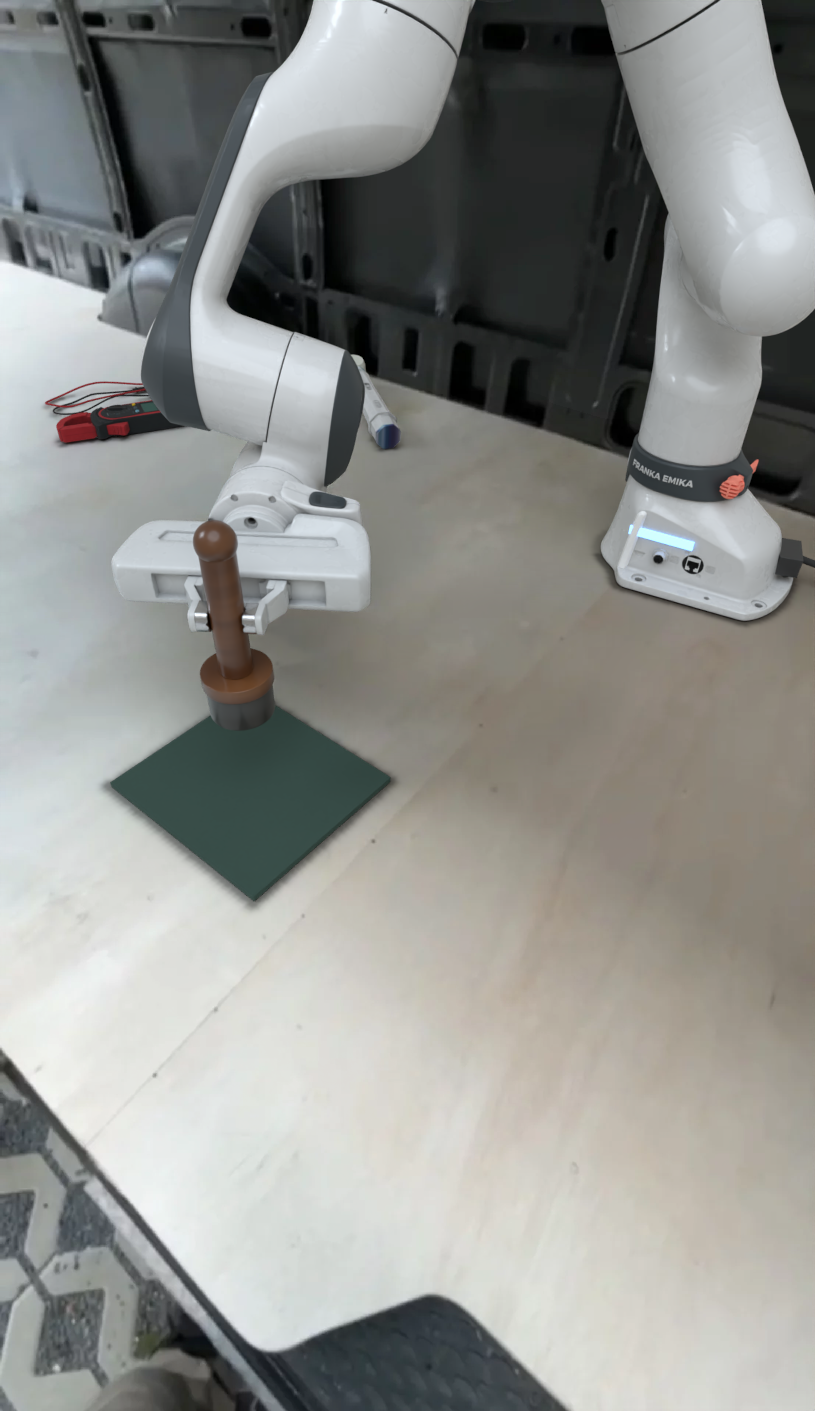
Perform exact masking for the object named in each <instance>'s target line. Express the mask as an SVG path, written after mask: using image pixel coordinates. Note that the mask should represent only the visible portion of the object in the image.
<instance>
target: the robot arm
mask: <svg viewBox="0 0 815 1411" xmlns="http://www.w3.org/2000/svg"><path fill="white" fill-rule="evenodd" d="M479 1H482V2H487V3H508V2H512V1H513V0H479ZM600 1H601V4H602V6H603V10H604V14H605V18H606V22H607V27H608V32H609V35H610V39H611V41H612V42H611V43H612V46H613V49H614V52H615V57H616V60H617V63H618V67H619V71H620V74H621V77H622V81H623V84H624V88H625V91H626V94H627V98H628V101H629V105H630V108H631V111H632V114H633V118H634V123H635V125H636V128H637V131H638V135H639V138H640V142H641V145H642V149H643V152H644V156H645V157H646V160H647V162H648V164H649V167H650V169H651V171H652V173H653V176H654V178H655V182H656V183H657V186H658V188H659V191H660V194H661V196H662V199H663V201H664V204H665V208H666V209H667V212H668V214H667V216H666V219H665V224H664V232H663V233H664V234H663V243H664V244H663V246H664V247H663V261H662V270H661V277H660V284H659V285H660V286H659V296H658V305H657V315H656V316H657V317H656V327H655V328H656V331H655V344H654V356H653V364H652V371H651V375H650V380H649V384H648V388H647V389H648V390H647V395H646V399H645V402H644V408H643V412H642V418H641V422H640V427H639V430H638V431H639V432H638V433H636V435H635V436H634V438H633V442H632V446H631V448H630V450H629V454H628V460H627V463H626V473H625V477H624V478H625V482H626V483H625V487H624V490H623V493H622V496H621V499H620V502H619V503H618V507H617V509H616V512H615V514H614V517H613V519H612V520H611V521H612V522H611V523H610V525H609V527H608V529H607V531H606V533H605V535H604V537H603V538H602V541H601V543H600V552H601V555H602V557H603V559H604V560H605V561H606V563H607V564H608V565H609V567H611V568H612V570H613V572H614V579H615V581H616V583H617V584H618V585H619V586H620V587H623V588H625V589H629V590H632V591H636V592H640V593H643V594H647V595H650V596H653V597H657V598H660V599H663V600H668V601H670V602H675V603H678V604H681V605H685V606H688V607H691V608H694V609H695V608H696V609H700V610H703V611H705V612H706V611H707V612H709V613H713V614H717V615H719V616H724V617H727V618H731V619H733V620H737V621H742V622H746V621H747V622H749V621H752V620H757V619H759V618H762V617H765V616H767V615H769V614H770V613H772V612H773V611H775V610H776V609H777V608H778V607H779V606H780V605H781V604H782V603H783V602H784V601H785V600H786V598H787V597H788V595H789V594H790V592H791V589H792V585H793V582H794V579H797V578H798V575H799V573H800V571H801V569H802V566H803V565H806V566H807V567H811V568H814V569H815V559H813V558H810V557H807V556H805V555H804V553H803V544H802V540H799V539H792V538H785V537H783V534H782V530H781V528H780V526H779V524H778V523H777V522H776V520H774V519H773V517H772V516H771V515H770V514H769V512H767V510H766V509H765V508H764V506H763V505H762V504H761V503H760V502H759V500H758V499H757V498H756V497H755V496H754V494H753V493H752V491H750V489H749V486H750V485H751V484H750V483H751V480H752V477H753V474H754V473H755V472H756V470H757V467H758V465H759V461H760V460H759V459H757V458H756V459H755V460H754V461H753V462H752V463H751V464H750V462H749V461H748V459H747V458H746V456H745V454H744V452H743V449H742V447H743V443H744V440H745V438H746V434H747V430H748V429H749V428H748V427H749V424H750V421H751V418H752V416H753V412H754V409H755V405H756V402H757V398H758V396H759V392H760V389H761V387H762V380H763V368H762V342H763V341H762V340H763V337H770V336H775V335H778V334H781V333H784V332H786V331H788V330H790V329H792V328H794V327H795V326H797V325H799V324H800V323H801V322H802V321H804V320H805V319H806V318H807V317H808V316H810V314H811V313H813V311H814V310H815V191H814V188H813V185H812V184H813V183H812V181H811V177H810V174H809V170H808V168H807V164H806V161H805V158H804V156H803V152H802V150H801V146H800V143H799V140H798V137H797V135H796V131H795V128H794V126H793V123H792V121H791V118H790V116H789V115H790V114H789V113H788V110H787V107H786V104H785V102H784V98H783V95H782V92H781V88H780V85H779V81H778V77H777V73H776V69H775V64H774V59H773V54H772V48H771V44H770V39H769V33H768V28H767V22H766V19H765V13H764V9H763V5H762V4H763V3H762V0H600ZM475 3H476V0H313V1H312V6H311V11H310V15H309V17H308V20H307V23H306V26H305V27H304V30H303V32H302V35H301V37H300V39H299V40H298V42H297V44H296V45H295V47H294V48H293V50H292V51H291V52H290V54H289V56H288V57H287V58H286V59H285V61H284V62H283V63H282V64H281V65H280V66H279V67H278V68H277V69H276V70H275V71H270V72H267V73H263V74H259V75H256V76H254V78H253V79H252V80H251V82H250V83H249V84H248V86H247V87H246V89H245V91H244V93H243V94H242V96H241V98H240V100H239V101H238V104H237V106H236V109H235V110H234V113H233V115H232V117H231V120H230V122H229V125H228V127H227V130H226V131H225V132H226V133H225V135H224V138H223V140H222V143H221V146H220V148H219V150H218V153H217V156H216V158H215V160H214V163H213V166H212V168H211V171H210V174H209V176H208V178H207V183H206V185H205V189H204V191H203V193H202V196H201V198H200V202H199V205H198V207H197V209H196V213H195V216H194V219H193V221H192V225H191V227H190V230H189V232H188V235H187V238H186V241H185V244H184V247H183V249H182V252H181V255H180V258H179V260H178V263H177V266H176V269H175V272H174V275H173V277H172V280H171V282H170V284H169V286H168V289H167V291H166V293H165V296H164V298H163V300H162V302H161V305H160V307H159V309H158V311H157V314H156V316H155V317H154V320H153V322H152V324H151V326H150V328H149V331H148V333H147V335H146V338H145V341H144V344H143V347H142V353H141V359H140V360H141V364H140V381H141V383H142V384H143V385H142V387H144V388H145V390H146V391H145V392H146V393H147V395H149V396H148V397H149V398H150V400H152V401H153V402H154V404H155V405H156V407H157V408H158V409H159V410H160V412H161V413H162V414H163V415H164V416H165V418H166V419H167V420H168V421H169V422H170V423H174V424H178V425H183V426H182V427H188V428H192V429H196V430H201V431H206V432H212V431H213V432H216V433H219V434H223V435H226V436H229V437H231V438H235V439H238V440H241V441H244V442H246V443H245V444H244V446H243V447H242V449H241V451H240V452H239V454H238V456H237V458H236V460H235V462H234V464H232V468H231V471H230V475H229V477H228V478H227V480H226V481H225V483H224V484H223V486H222V488H221V490H220V492H219V494H218V496H217V497H216V501H215V502H214V504H213V506H212V508H211V510H210V512H209V515H208V517H207V521H210V520H219V521H222V522H225V523H226V524H228V525H229V526H230V527H231V528H232V529H233V530H234V532H235V533H236V536H237V539H238V548H237V551H236V552H237V559H238V566H239V573H240V580H241V586H242V593H243V600H244V607H245V611H243V613H242V624H243V625H244V628H243V632H244V634H249V635H257V636H265V634H266V632H267V628H268V625H269V624H271V623H273V622H274V621H275V620H277V619H278V618H280V617H281V616H283V615H285V614H286V613H287V612H288V610H301V611H302V610H303V611H305V610H306V611H326V612H328V611H329V612H347V613H359V612H361V611H363V610H365V609H366V608H368V607H370V605H371V604H372V603H371V602H372V557H371V555H372V553H371V544H370V538H369V534H368V532H367V529H366V528H365V527H364V519H363V512H362V508H361V503H360V502H359V501H358V500H357V499H354V498H351V497H346V496H341V495H337V494H332V493H328V492H327V491H328V486H330V485H331V484H333V483H335V482H336V481H337V480H338V479H340V477H342V475H343V474H345V473H346V471H347V469H348V467H349V464H350V462H351V460H352V457H353V452H354V450H355V445H356V442H357V436H358V431H359V429H360V424H361V420H362V416H363V406H364V398H365V385H364V382H363V380H362V377H361V374H360V372H359V369H358V367H357V365H356V363H355V361H354V359H353V357H352V356H351V355H352V354H351V353H350V351H348V350H347V349H344V348H342V347H339V346H336V345H334V344H332V343H328V342H325V341H323V340H320V339H318V338H314V337H312V336H309V335H306V334H302V333H300V332H297V331H291V330H288V329H285V328H282V327H280V326H276V325H273V324H270V323H267V322H264V321H262V320H258V319H256V318H252V317H251V316H250V317H249V316H247V315H245V314H241V313H239V312H237V311H235V310H234V309H233V308H231V307H230V305H229V303H228V301H227V300H228V296H229V293H230V290H231V288H232V286H233V283H234V280H235V277H236V275H237V272H238V270H239V266H240V265H241V262H242V259H243V257H244V254H245V251H246V249H247V247H248V244H249V241H250V238H251V236H252V233H253V231H254V228H255V226H256V223H257V220H258V218H259V215H260V214H261V211H262V209H263V208H264V206H265V204H266V203H267V202H268V201H269V200H270V199H271V198H272V197H273V196H274V195H275V194H276V193H277V192H279V191H281V190H283V189H284V188H287V187H290V186H291V185H296V184H299V183H303V182H308V181H319V180H335V179H351V178H362V177H369V176H373V175H378V174H381V173H384V172H388V171H390V170H393V169H395V168H397V167H400V166H402V165H403V164H405V163H407V162H408V161H410V160H411V159H412V158H413V157H415V156H417V155H418V153H420V151H422V149H423V148H424V147H425V146H426V145H427V144H428V142H429V141H430V140H431V139H432V137H433V134H434V131H435V129H436V127H437V125H438V122H439V119H440V116H441V114H442V112H443V109H444V106H445V103H446V101H447V99H448V96H449V92H450V89H451V86H452V83H453V79H454V75H455V72H456V70H457V65H458V60H459V56H460V53H461V49H462V45H463V42H464V37H465V34H466V29H467V24H468V20H469V16H470V14H471V12H472V10H473V7H474V5H475ZM204 522H206V521H203V520H202V521H201V520H182V519H181V520H180V519H177V520H176V519H156V520H151V521H148V522H146V523H144V524H142V525H141V526H139V527H138V528H137V529H135V530H134V531H133V532H132V533H131V534H130V535H129V536H128V538H126V540H125V541H124V542H123V543H122V544H121V545H120V547H119V548H117V550H116V552H115V553H114V554H113V556H112V558H111V560H110V561H111V562H110V565H111V572H112V577H113V580H114V583H115V586H116V589H117V591H118V593H119V594H120V595H121V597H122V598H123V599H124V600H125V601H128V602H134V603H135V602H137V603H157V604H158V603H159V604H176V605H177V604H179V605H187V608H188V610H187V616H186V618H187V624H188V628H189V631H190V632H192V633H193V632H196V633H212V628H211V623H210V618H209V612H208V607H207V601H206V596H205V591H204V585H203V580H202V574H201V569H200V563H199V558H198V555H197V554H196V552H195V550H194V547H193V536H194V533H195V531H196V529H197V528H198V527H199V526H200V525H201V524H202V523H204Z"/></svg>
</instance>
